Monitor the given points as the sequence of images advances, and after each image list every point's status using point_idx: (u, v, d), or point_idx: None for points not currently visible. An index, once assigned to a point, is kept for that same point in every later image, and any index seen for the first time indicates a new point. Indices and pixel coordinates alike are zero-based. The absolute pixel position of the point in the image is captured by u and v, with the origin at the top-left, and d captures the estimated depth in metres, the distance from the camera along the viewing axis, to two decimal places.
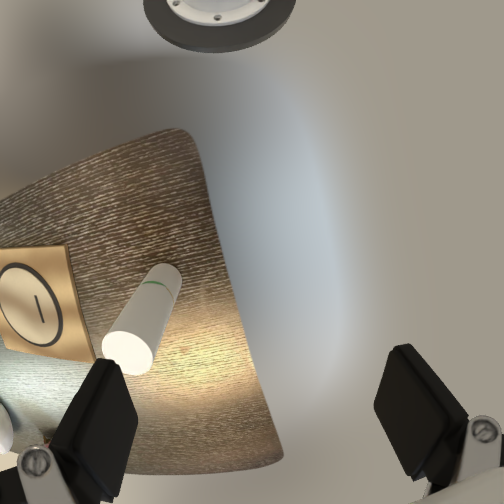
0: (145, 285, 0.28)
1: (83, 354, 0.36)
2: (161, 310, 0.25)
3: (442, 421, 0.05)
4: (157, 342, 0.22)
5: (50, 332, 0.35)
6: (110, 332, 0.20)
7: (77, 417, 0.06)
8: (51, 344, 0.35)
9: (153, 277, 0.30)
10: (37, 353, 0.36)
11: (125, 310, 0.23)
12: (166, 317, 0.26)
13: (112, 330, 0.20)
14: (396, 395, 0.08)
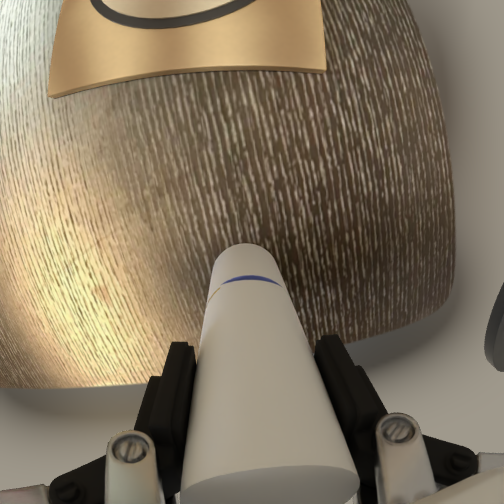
0: None
1: (67, 72, 0.13)
2: None
3: (348, 413, 0.06)
4: None
5: None
6: (355, 472, 0.05)
7: (170, 396, 0.07)
8: None
9: None
10: None
11: (324, 385, 0.08)
12: None
13: (355, 469, 0.05)
14: None
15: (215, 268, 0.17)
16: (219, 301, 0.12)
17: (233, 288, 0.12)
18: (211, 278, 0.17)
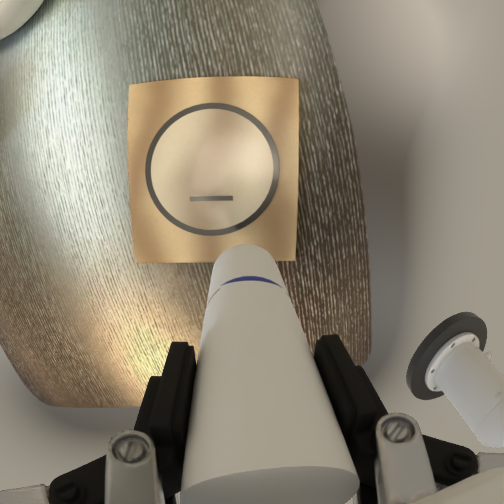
0: None
1: (147, 251, 0.31)
2: None
3: (348, 413, 0.06)
4: None
5: (175, 206, 0.30)
6: (355, 473, 0.05)
7: (170, 397, 0.07)
8: (153, 198, 0.30)
9: None
10: (130, 159, 0.28)
11: (324, 386, 0.08)
12: None
13: (355, 469, 0.05)
14: None
15: (215, 269, 0.17)
16: (219, 302, 0.12)
17: (233, 289, 0.12)
18: (211, 279, 0.17)
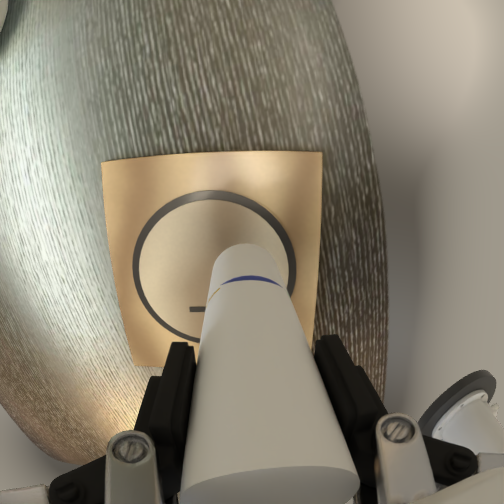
0: None
1: (145, 356, 0.27)
2: None
3: (348, 412, 0.06)
4: None
5: (172, 316, 0.25)
6: (355, 473, 0.05)
7: (170, 397, 0.07)
8: (146, 305, 0.25)
9: None
10: (114, 259, 0.24)
11: (324, 385, 0.08)
12: None
13: (355, 469, 0.05)
14: None
15: (215, 268, 0.17)
16: (219, 301, 0.12)
17: (233, 288, 0.12)
18: (211, 278, 0.17)
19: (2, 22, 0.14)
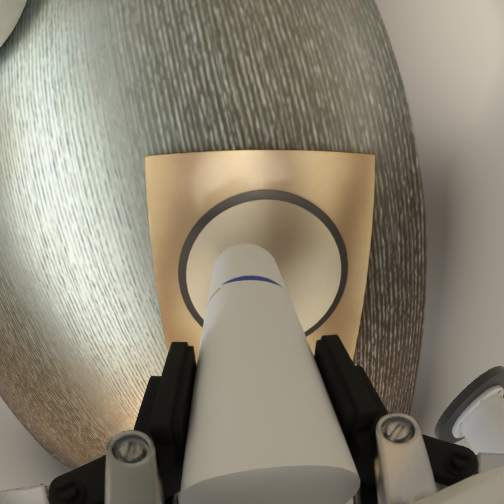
0: None
1: None
2: None
3: (348, 412, 0.06)
4: None
5: None
6: (356, 473, 0.05)
7: (170, 397, 0.07)
8: (191, 310, 0.24)
9: None
10: (157, 262, 0.23)
11: (324, 385, 0.08)
12: None
13: (355, 469, 0.05)
14: None
15: (215, 268, 0.17)
16: (219, 301, 0.12)
17: (233, 289, 0.12)
18: (211, 278, 0.17)
19: (24, 4, 0.13)
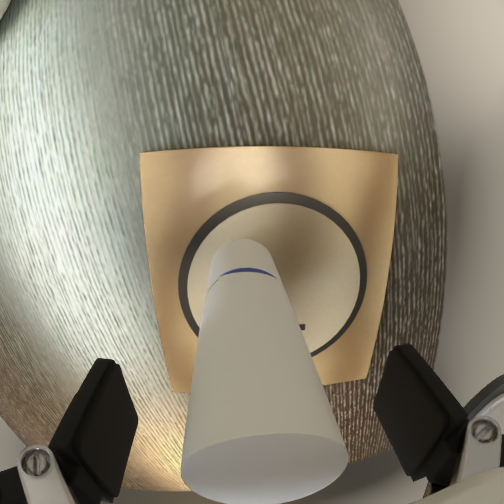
0: None
1: (187, 382, 0.23)
2: None
3: (442, 421, 0.05)
4: None
5: None
6: (343, 446, 0.06)
7: (77, 417, 0.06)
8: (192, 327, 0.22)
9: None
10: (154, 274, 0.20)
11: (315, 367, 0.09)
12: None
13: (343, 443, 0.06)
14: (396, 395, 0.08)
15: (213, 262, 0.18)
16: (217, 291, 0.13)
17: (231, 279, 0.13)
18: (210, 271, 0.17)
19: None
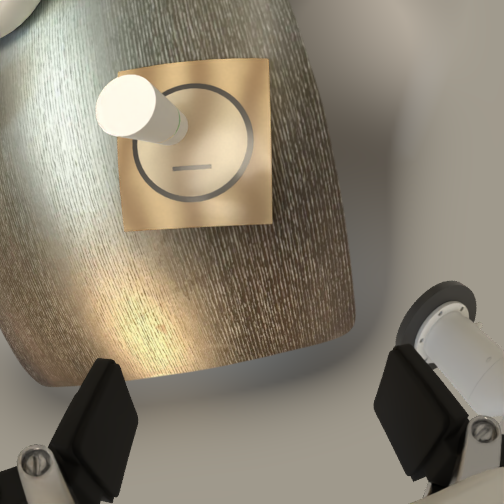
0: (177, 114, 0.24)
1: (134, 219, 0.33)
2: (158, 136, 0.22)
3: (442, 421, 0.05)
4: (132, 137, 0.18)
5: (159, 176, 0.32)
6: (152, 87, 0.16)
7: (77, 417, 0.06)
8: (139, 170, 0.32)
9: (181, 119, 0.26)
10: None
11: (164, 98, 0.19)
12: (149, 140, 0.22)
13: (154, 89, 0.16)
14: (396, 395, 0.08)
15: None
16: None
17: None
18: None
19: None
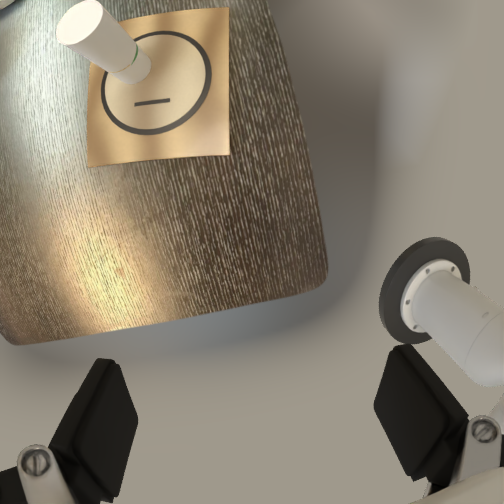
0: (134, 45, 0.22)
1: (97, 155, 0.31)
2: (112, 57, 0.20)
3: (442, 421, 0.05)
4: (84, 50, 0.16)
5: (122, 112, 0.30)
6: (101, 6, 0.14)
7: (77, 417, 0.06)
8: (105, 108, 0.30)
9: (140, 53, 0.24)
10: (90, 80, 0.28)
11: (117, 23, 0.17)
12: (104, 62, 0.20)
13: (103, 8, 0.14)
14: (396, 395, 0.08)
15: None
16: None
17: None
18: None
19: None
